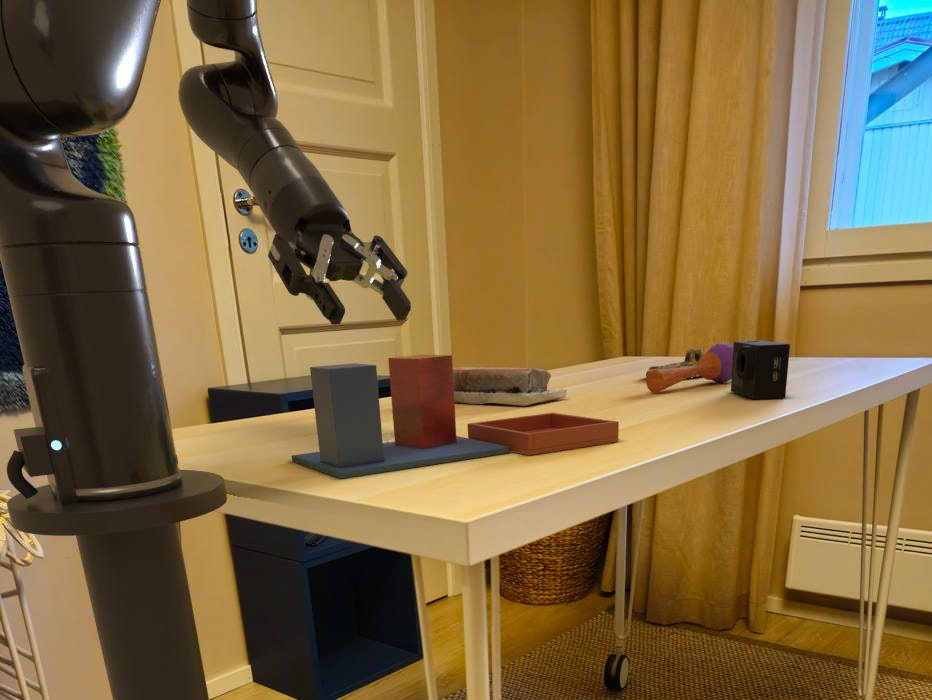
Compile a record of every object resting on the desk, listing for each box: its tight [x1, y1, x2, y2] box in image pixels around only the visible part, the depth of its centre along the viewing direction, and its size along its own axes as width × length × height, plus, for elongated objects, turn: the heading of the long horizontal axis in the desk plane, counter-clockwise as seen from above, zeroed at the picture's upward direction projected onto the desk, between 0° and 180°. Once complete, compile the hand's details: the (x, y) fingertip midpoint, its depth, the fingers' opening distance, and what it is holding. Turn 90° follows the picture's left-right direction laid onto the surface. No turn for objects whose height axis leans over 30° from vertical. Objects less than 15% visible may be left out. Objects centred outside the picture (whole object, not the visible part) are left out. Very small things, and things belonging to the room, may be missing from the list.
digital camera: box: [730, 340, 791, 400], centre depth 117 cm, size 10×5×7 cm, turn 2°
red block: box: [387, 354, 457, 449], centre depth 86 cm, size 4×4×8 cm
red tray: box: [467, 412, 620, 456], centre depth 88 cm, size 11×11×2 cm
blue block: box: [309, 362, 384, 468], centre depth 78 cm, size 4×4×8 cm
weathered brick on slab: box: [453, 366, 567, 407], centre depth 125 cm, size 18×5×10 cm
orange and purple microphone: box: [645, 342, 734, 394], centre depth 132 cm, size 6×6×20 cm
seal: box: [645, 348, 704, 378], centre depth 148 cm, size 9×5×15 cm
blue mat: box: [291, 435, 511, 479], centre depth 84 cm, size 18×12×1 cm, turn 122°
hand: (373, 316), depth 89 cm, fingers open, 8 cm apart
